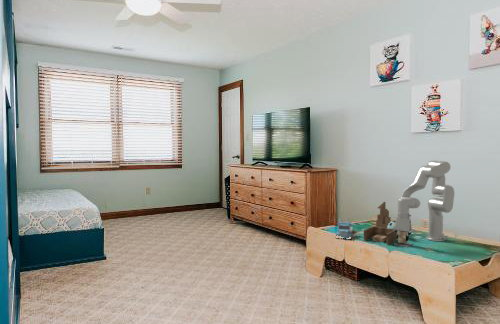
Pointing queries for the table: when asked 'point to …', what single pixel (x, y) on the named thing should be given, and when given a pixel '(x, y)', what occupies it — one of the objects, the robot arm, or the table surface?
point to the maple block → (402, 237)
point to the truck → (344, 229)
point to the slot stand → (380, 234)
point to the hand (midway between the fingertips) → (403, 240)
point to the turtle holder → (391, 225)
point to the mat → (403, 244)
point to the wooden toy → (383, 216)
